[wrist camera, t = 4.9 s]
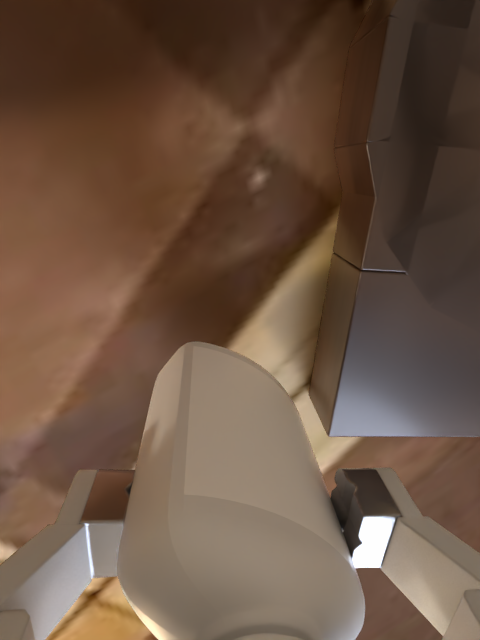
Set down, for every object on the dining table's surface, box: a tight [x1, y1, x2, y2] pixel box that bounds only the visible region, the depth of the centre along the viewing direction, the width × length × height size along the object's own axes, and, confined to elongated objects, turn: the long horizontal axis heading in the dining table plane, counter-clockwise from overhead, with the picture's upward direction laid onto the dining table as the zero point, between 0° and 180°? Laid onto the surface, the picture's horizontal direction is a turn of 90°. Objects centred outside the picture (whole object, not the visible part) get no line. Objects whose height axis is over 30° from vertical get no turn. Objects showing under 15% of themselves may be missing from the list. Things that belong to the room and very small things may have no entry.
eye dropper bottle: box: [117, 341, 365, 640], centre depth 9 cm, size 4×6×12 cm
